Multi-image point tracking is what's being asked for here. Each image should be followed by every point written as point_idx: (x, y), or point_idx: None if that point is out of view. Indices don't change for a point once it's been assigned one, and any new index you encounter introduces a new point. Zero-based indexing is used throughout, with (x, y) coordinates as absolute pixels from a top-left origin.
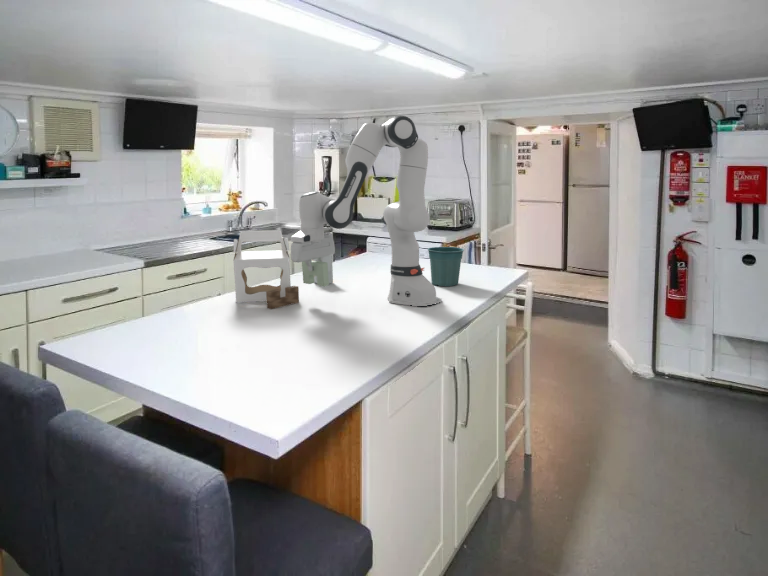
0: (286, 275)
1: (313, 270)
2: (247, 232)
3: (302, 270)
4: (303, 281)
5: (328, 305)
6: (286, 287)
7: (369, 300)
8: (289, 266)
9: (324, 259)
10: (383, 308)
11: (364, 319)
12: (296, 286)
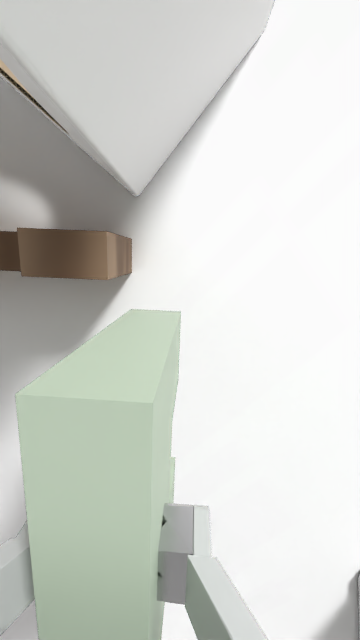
0: (53, 111)
1: None
2: None
3: (93, 337)
4: (128, 313)
5: (181, 419)
6: (27, 232)
7: (355, 494)
8: (28, 70)
9: None
10: (275, 593)
11: None
12: (99, 267)
